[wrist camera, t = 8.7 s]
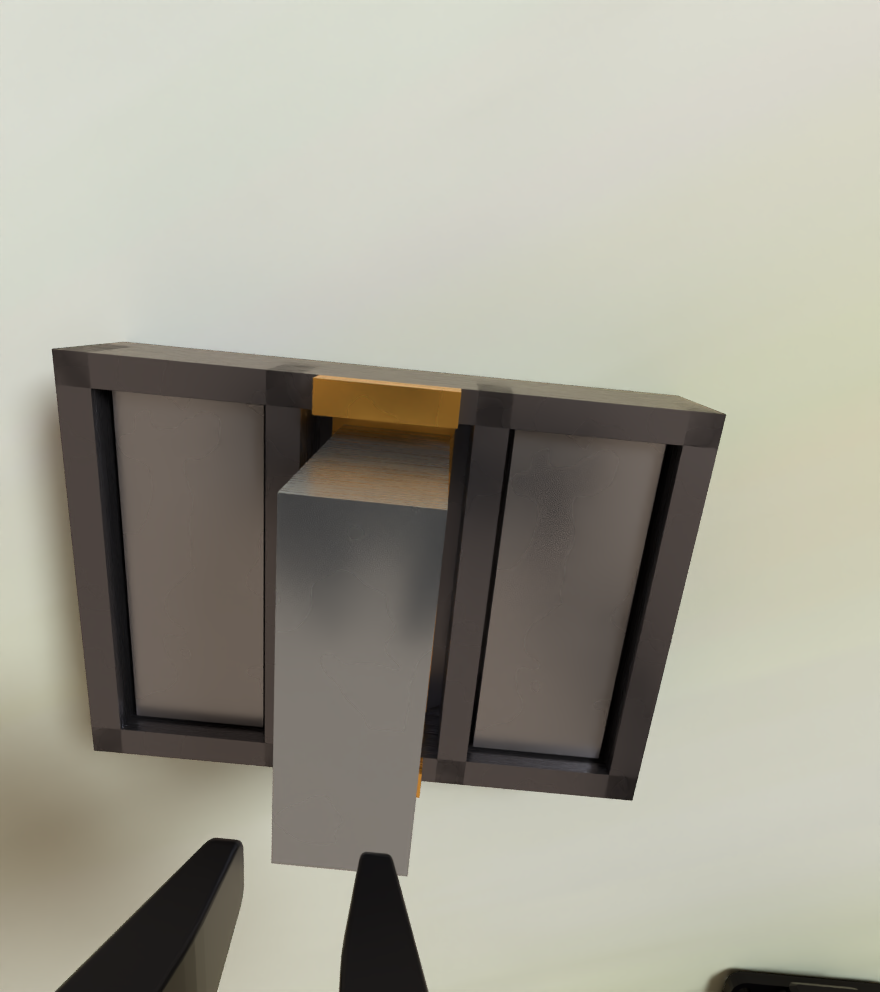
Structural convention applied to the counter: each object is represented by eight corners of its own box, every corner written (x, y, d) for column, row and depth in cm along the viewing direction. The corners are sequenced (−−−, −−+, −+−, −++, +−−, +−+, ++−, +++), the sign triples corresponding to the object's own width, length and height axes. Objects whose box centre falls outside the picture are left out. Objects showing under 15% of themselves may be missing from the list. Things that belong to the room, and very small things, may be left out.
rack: (606, 728, 19) (638, 818, 16) (147, 685, 19) (81, 766, 16) (677, 395, 16) (738, 419, 13) (123, 341, 16) (33, 350, 13)
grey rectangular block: (422, 694, 18) (407, 876, 12) (330, 684, 18) (271, 863, 12) (450, 435, 15) (447, 510, 10) (343, 424, 15) (277, 492, 10)
